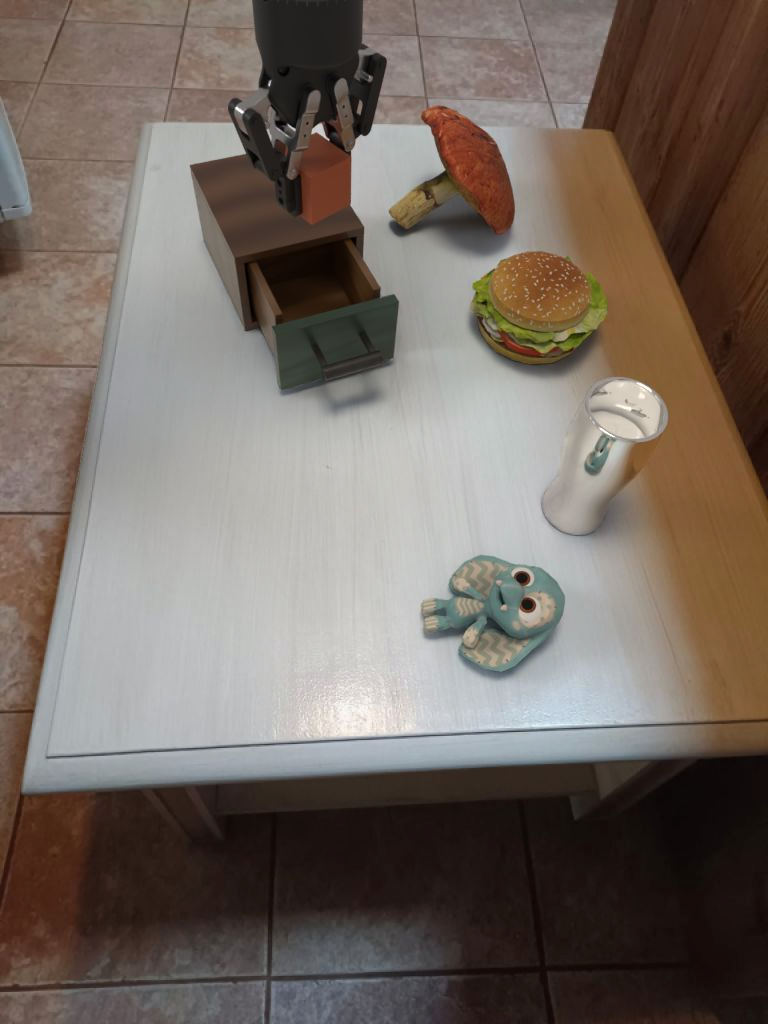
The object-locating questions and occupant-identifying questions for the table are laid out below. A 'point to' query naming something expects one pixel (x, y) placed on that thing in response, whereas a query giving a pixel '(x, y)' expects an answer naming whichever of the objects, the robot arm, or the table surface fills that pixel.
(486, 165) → the mushroom
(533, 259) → the food
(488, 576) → the stuffed animal
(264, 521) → the table surface
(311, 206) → the block
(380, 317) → the drawer
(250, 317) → the cabinet
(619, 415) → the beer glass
